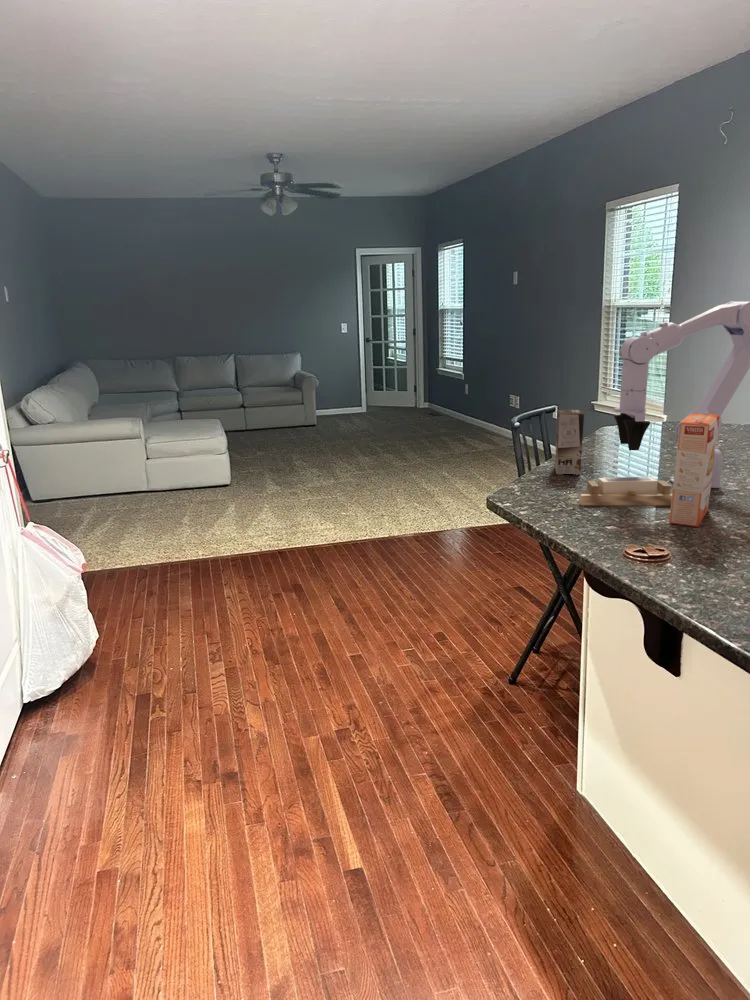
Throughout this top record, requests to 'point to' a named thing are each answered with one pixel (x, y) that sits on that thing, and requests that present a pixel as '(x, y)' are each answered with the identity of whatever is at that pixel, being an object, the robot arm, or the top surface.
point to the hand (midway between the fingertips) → (629, 446)
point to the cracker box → (693, 468)
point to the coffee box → (569, 441)
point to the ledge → (626, 496)
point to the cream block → (627, 485)
